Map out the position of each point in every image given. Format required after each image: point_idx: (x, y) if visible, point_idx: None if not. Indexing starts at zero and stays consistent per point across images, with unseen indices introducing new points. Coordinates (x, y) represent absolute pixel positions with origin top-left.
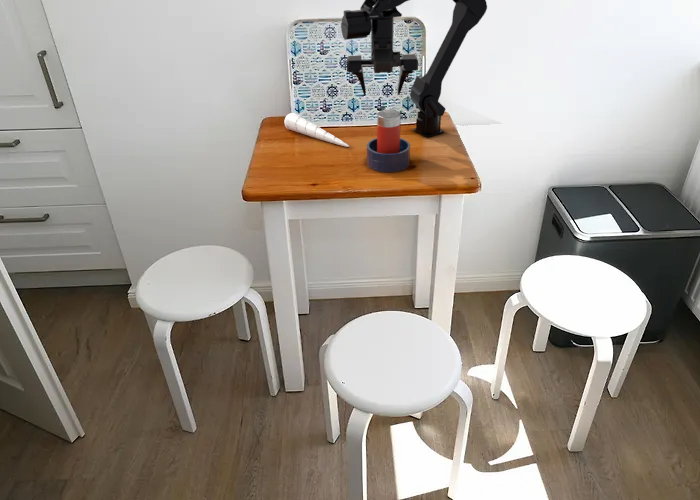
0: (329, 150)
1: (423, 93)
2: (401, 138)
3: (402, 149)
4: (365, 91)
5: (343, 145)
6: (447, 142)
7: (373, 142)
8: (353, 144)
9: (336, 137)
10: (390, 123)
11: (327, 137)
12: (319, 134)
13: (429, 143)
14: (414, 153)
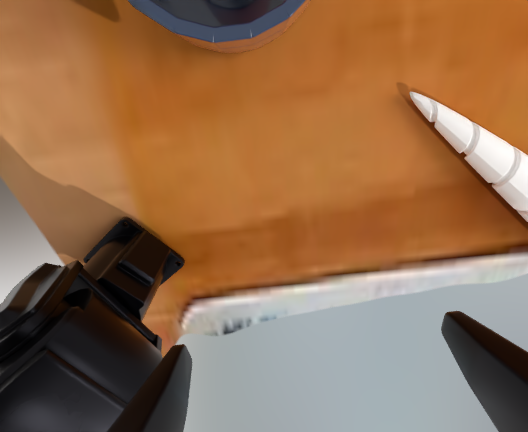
0: (492, 61)
1: (9, 376)
2: (148, 14)
3: (157, 3)
4: (479, 340)
5: (433, 101)
6: (45, 190)
7: None
8: (384, 136)
9: (467, 143)
10: None
11: (504, 142)
12: None
13: (104, 175)
14: (130, 70)
